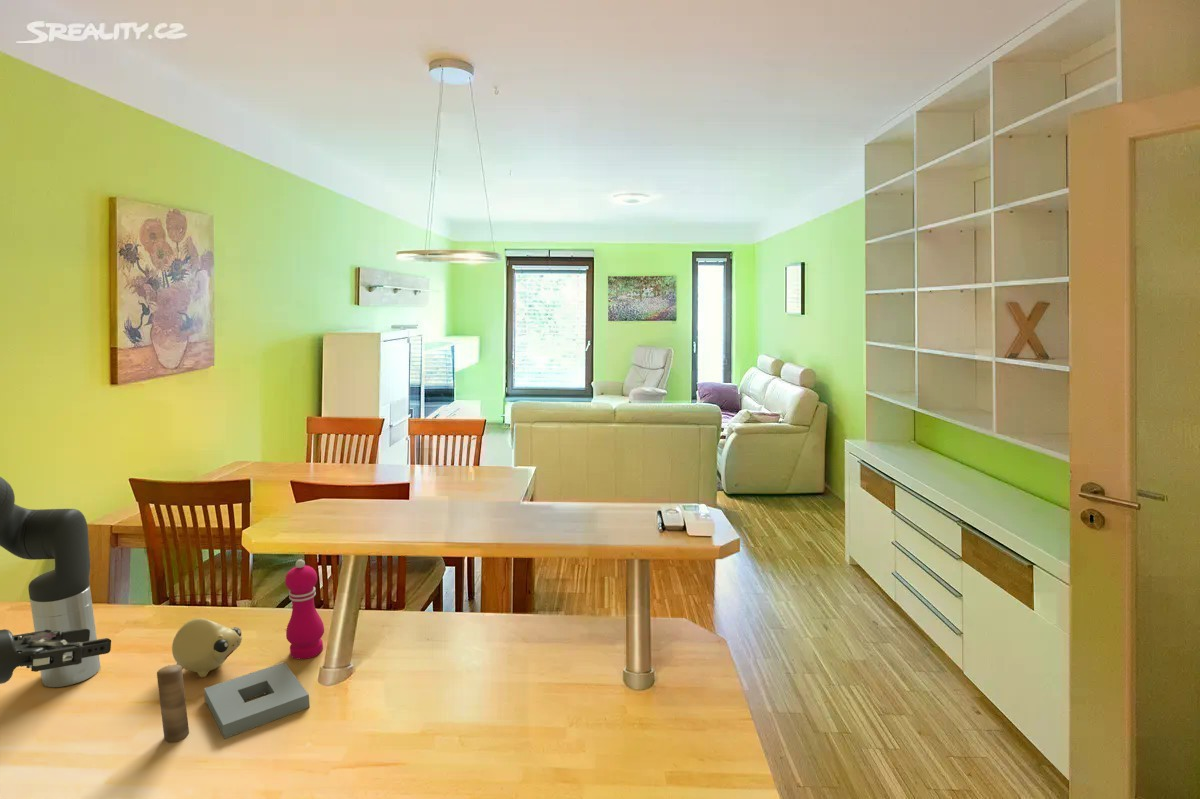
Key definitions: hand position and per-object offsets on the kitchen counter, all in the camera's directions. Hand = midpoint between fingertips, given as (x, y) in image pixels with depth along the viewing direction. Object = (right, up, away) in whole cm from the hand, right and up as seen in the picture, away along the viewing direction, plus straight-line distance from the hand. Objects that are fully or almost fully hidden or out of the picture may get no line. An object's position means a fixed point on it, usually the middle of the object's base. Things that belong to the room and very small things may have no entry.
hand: (99, 640), depth 115 cm
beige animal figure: (+2, -15, +28) cm, 32 cm away
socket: (+17, -17, +17) cm, 30 cm away
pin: (+8, -19, +8) cm, 22 cm away
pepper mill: (+19, -14, +35) cm, 42 cm away
